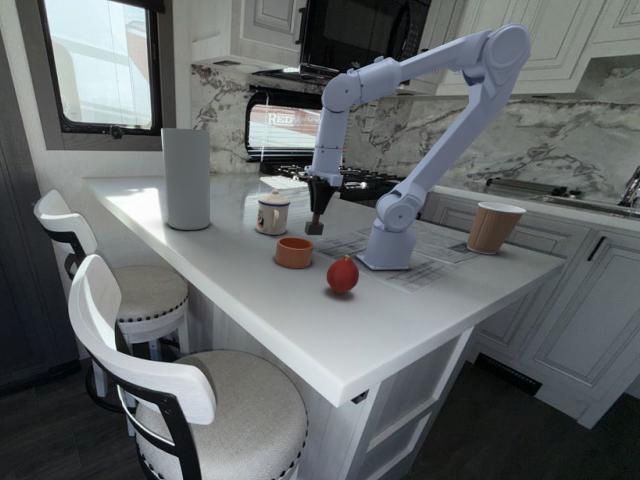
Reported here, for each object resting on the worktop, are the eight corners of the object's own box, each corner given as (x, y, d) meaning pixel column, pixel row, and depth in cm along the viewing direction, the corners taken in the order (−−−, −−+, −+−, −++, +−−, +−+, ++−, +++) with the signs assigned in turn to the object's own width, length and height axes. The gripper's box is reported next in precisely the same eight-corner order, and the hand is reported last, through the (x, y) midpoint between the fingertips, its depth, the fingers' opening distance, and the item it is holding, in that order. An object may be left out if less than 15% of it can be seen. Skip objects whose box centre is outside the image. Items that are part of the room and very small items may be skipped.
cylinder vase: (175, 233, 85) (169, 130, 72) (162, 220, 94) (155, 127, 81) (216, 228, 90) (217, 132, 77) (200, 217, 99) (199, 129, 87)
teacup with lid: (254, 225, 95) (257, 186, 89) (283, 226, 95) (288, 187, 89) (258, 238, 84) (261, 195, 78) (290, 239, 85) (296, 196, 79)
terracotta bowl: (303, 254, 76) (306, 236, 74) (315, 268, 69) (318, 249, 67) (271, 254, 75) (273, 236, 73) (280, 268, 68) (282, 249, 66)
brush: (318, 232, 74) (325, 196, 70) (322, 235, 72) (329, 199, 68) (304, 232, 74) (310, 196, 69) (307, 235, 72) (313, 198, 67)
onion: (331, 283, 63) (339, 246, 59) (358, 292, 60) (369, 254, 56) (318, 293, 59) (326, 254, 55) (346, 304, 56) (357, 264, 52)
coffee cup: (511, 255, 83) (535, 210, 77) (487, 258, 80) (510, 212, 74) (475, 242, 92) (494, 201, 85) (451, 245, 88) (469, 202, 82)
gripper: (299, 143, 69) (291, 204, 76) (323, 150, 57) (310, 222, 64) (329, 145, 70) (318, 205, 77) (358, 151, 58) (342, 222, 65)
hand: (316, 213), depth 70 cm, fingers closed on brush, 1 cm apart
